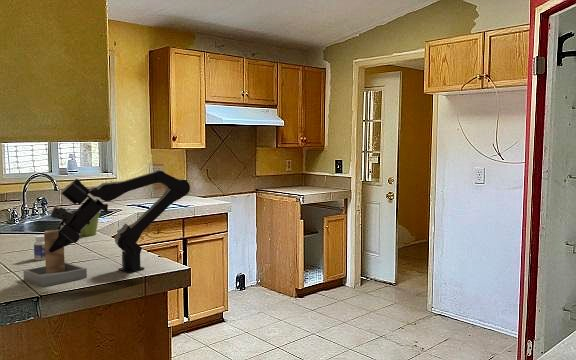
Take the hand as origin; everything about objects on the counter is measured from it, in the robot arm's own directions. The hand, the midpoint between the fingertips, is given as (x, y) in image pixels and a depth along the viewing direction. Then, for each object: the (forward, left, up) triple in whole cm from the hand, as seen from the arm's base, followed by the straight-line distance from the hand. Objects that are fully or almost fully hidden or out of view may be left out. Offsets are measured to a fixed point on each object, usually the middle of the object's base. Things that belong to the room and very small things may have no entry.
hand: (50, 249), depth 160 cm
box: (0, -1, -10) cm, 10 cm away
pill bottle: (+32, -11, -10) cm, 35 cm away
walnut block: (-1, -1, -7) cm, 7 cm away
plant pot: (+67, -49, -10) cm, 83 cm away
